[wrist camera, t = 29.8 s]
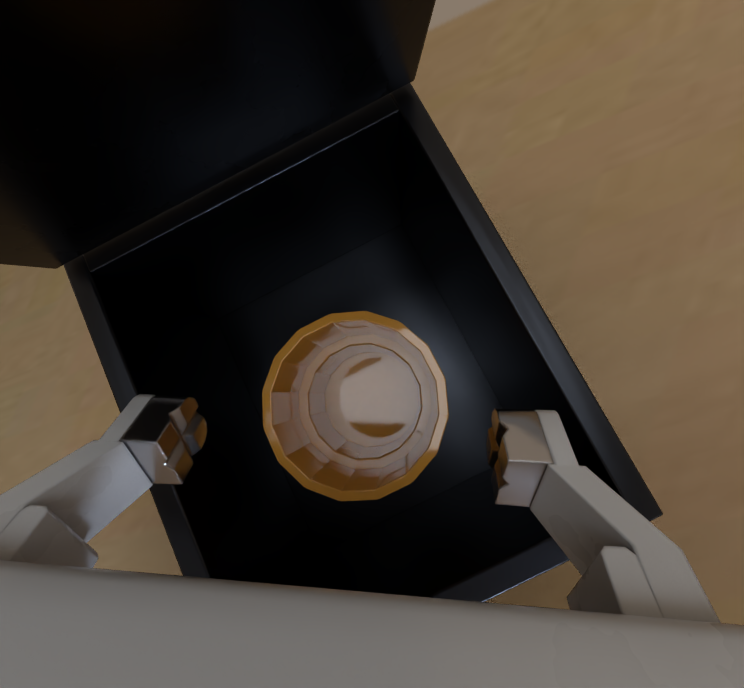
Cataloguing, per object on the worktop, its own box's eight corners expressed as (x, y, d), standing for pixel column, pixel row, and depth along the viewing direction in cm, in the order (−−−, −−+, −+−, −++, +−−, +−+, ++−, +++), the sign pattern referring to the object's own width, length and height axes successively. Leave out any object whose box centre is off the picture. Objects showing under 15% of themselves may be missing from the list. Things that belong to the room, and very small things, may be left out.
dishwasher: (541, 455, 20) (665, 515, 11) (316, 566, 21) (237, 723, 11) (407, 212, 23) (409, 80, 13) (206, 316, 23) (61, 263, 13)
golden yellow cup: (453, 426, 20) (482, 448, 13) (344, 480, 20) (309, 534, 13) (398, 319, 21) (394, 280, 14) (294, 371, 21) (233, 362, 14)
